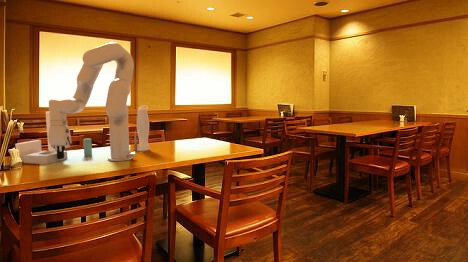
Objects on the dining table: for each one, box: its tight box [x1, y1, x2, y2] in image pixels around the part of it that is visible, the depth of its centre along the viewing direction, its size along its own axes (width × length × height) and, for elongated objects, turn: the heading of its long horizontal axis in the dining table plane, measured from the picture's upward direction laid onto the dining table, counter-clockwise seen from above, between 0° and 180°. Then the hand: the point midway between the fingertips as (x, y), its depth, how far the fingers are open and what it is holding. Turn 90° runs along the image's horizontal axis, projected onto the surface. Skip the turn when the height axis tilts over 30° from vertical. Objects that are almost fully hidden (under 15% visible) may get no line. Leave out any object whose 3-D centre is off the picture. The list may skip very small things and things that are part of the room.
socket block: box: [23, 149, 68, 165], centre depth 167 cm, size 14×14×4 cm
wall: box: [14, 139, 43, 163], centre depth 169 cm, size 2×14×10 cm, turn 168°
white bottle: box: [133, 104, 151, 153], centre depth 196 cm, size 8×8×28 cm
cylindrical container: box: [45, 111, 55, 151], centre depth 185 cm, size 7×7×25 cm
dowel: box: [83, 138, 93, 158], centre depth 178 cm, size 4×4×10 cm
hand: (60, 158), depth 165 cm, fingers closed
